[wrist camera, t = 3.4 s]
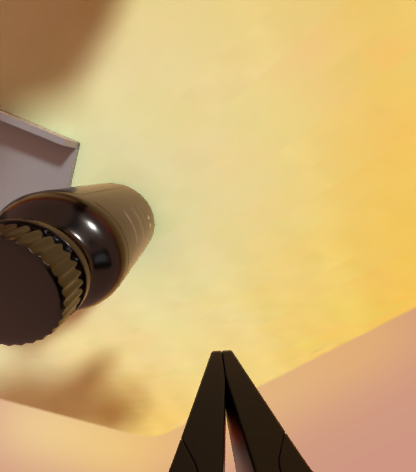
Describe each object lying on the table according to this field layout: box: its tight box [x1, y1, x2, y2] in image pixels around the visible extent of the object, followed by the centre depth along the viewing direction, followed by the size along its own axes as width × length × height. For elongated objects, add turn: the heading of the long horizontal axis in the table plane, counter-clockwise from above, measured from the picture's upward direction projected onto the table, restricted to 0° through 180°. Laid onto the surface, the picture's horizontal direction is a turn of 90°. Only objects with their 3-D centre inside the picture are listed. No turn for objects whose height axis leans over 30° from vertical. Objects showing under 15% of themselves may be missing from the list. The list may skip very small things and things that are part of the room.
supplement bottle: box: [0, 183, 154, 346], centre depth 13 cm, size 7×7×12 cm
